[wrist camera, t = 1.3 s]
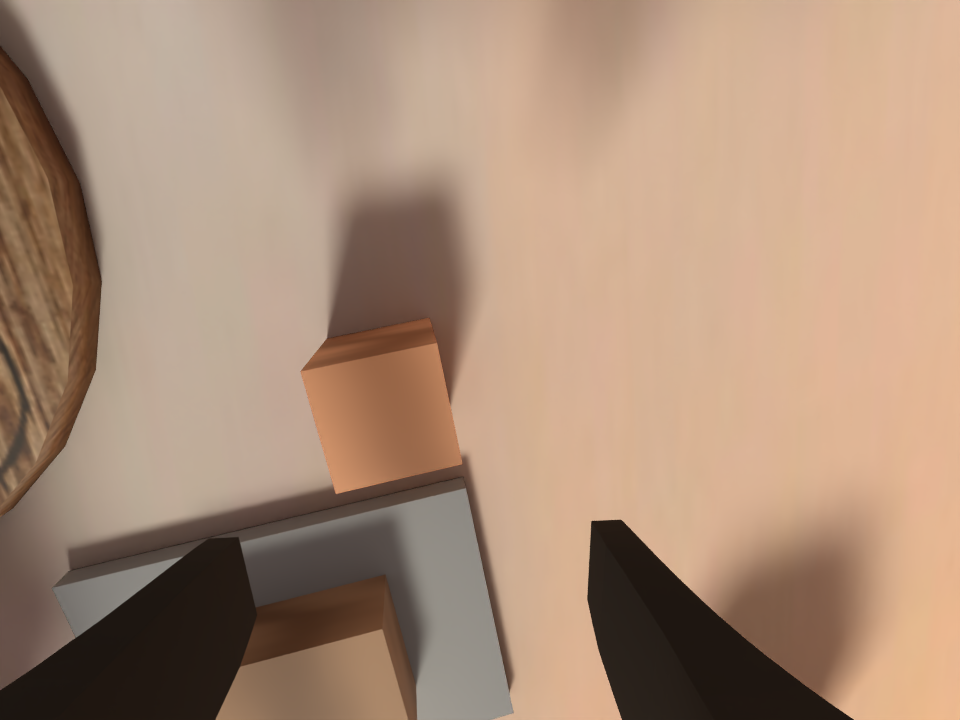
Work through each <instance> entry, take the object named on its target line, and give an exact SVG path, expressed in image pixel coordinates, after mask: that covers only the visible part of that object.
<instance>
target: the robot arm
mask: <svg viewBox="0 0 960 720" xmlns="http://www.w3.org/2000/svg"><path fill="white" fill-rule="evenodd" d="M587 599H588V604H589V609H590V613H591V618H592V623H593V627H594V632H595V636H596V640H597V645H598V649H599V652H600V656H601V659H602V662H603V665H604V668H605V671H606V674H607V677H608V680H609V683H610V686H611V689H612V692H613V695H614V698H615V701H616V703H617V706H618V709H619V712H620V715H621V718H622V720H854V719H852V718H851V717H849V716H848V715H846V714H845V713H843V712H842V711H840V710H839V709H837V708H836V707H834V706H833V705H831V704H830V703H829V702H827V701H826V700H824V699H823V698H822V697H820V696H819V695H818V694H816V693H815V692H813V691H812V690H811V689H809V688H808V687H806V686H805V685H804V684H802V683H801V682H800V681H798V680H797V679H796V678H795V677H793V676H792V675H791V674H789V673H788V672H787V671H785V670H784V669H783V668H781V667H780V666H779V665H778V664H776V663H775V662H774V661H772V660H771V659H770V658H768V657H767V656H766V655H764V654H763V653H762V652H761V651H760V650H758V649H757V648H756V647H755V646H753V645H752V644H751V643H750V642H748V641H747V640H746V639H745V638H744V637H742V636H741V635H740V634H739V633H738V632H737V631H736V630H734V629H733V628H732V627H731V626H730V625H729V624H727V623H726V622H725V621H724V620H723V619H722V618H721V617H719V616H718V615H717V614H716V613H715V612H714V611H713V610H712V609H711V608H710V607H708V606H707V605H706V604H705V603H704V602H703V601H702V600H701V599H700V598H699V597H698V596H697V595H696V594H695V593H694V592H692V591H691V590H690V589H689V588H688V587H687V586H686V585H685V584H684V583H683V582H682V581H681V580H680V579H679V578H678V577H677V576H676V575H675V574H674V573H673V572H672V571H671V570H670V569H669V568H668V567H667V566H666V565H665V564H664V563H663V562H662V561H661V560H660V559H659V558H658V557H657V556H656V555H655V554H654V553H653V552H652V551H651V550H650V549H649V548H648V547H647V546H646V545H645V544H644V543H643V542H642V541H641V540H640V538H639V537H638V536H637V535H636V534H635V533H634V532H633V531H632V530H631V529H630V528H629V527H628V526H627V525H626V524H625V523H624V522H623V521H622V520H604V521H592V522H591V541H590V559H589V578H588V597H587ZM256 617H257V611H256V607H255V603H254V599H253V595H252V590H251V586H250V582H249V578H248V574H247V569H246V565H245V561H244V557H243V553H242V548H241V544H240V540H239V537H228V538H209V539H207V540H206V541H204V542H203V543H201V544H200V545H198V546H197V547H196V548H194V549H193V550H192V551H190V552H189V553H188V554H186V555H185V556H184V557H182V558H181V559H180V560H178V561H177V562H176V563H174V564H173V565H172V566H171V567H169V568H168V569H167V570H165V571H164V572H163V573H161V574H160V575H159V576H158V577H156V578H155V579H154V580H152V581H151V582H150V583H149V584H147V585H146V586H145V587H143V588H142V589H141V590H139V591H138V592H137V593H135V594H134V595H133V596H132V597H130V598H129V599H128V600H126V601H125V602H124V603H122V604H121V605H120V606H118V607H117V608H116V609H115V610H113V611H112V612H111V613H109V614H108V615H107V616H105V617H104V618H103V619H101V620H100V621H99V622H97V623H96V624H94V625H93V626H92V627H90V628H89V629H87V630H86V631H85V632H83V633H82V634H81V635H79V636H78V637H76V638H75V639H74V640H72V641H71V642H69V643H68V644H67V645H65V646H64V647H62V648H61V649H60V650H58V651H57V652H55V653H54V654H53V655H51V656H50V657H49V658H47V659H46V660H44V661H43V662H42V663H40V664H39V665H37V666H36V667H35V668H33V669H32V670H30V671H29V672H27V673H26V674H24V675H23V676H21V677H20V678H18V679H17V680H15V681H14V682H12V683H11V684H9V685H8V686H6V687H5V688H3V689H2V690H0V720H216V717H217V715H218V713H219V711H220V709H221V707H222V705H223V703H224V700H225V698H226V696H227V694H228V692H229V690H230V688H231V685H232V683H233V681H234V679H235V677H236V674H237V672H238V670H239V668H240V665H241V662H242V659H243V657H244V654H245V651H246V648H247V645H248V642H249V639H250V636H251V633H252V630H253V627H254V624H255V620H256Z"/></svg>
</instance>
